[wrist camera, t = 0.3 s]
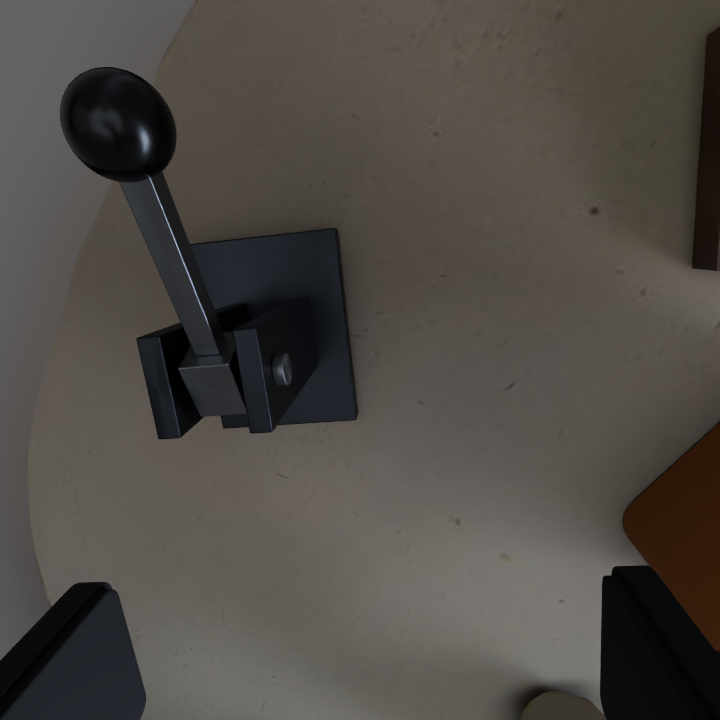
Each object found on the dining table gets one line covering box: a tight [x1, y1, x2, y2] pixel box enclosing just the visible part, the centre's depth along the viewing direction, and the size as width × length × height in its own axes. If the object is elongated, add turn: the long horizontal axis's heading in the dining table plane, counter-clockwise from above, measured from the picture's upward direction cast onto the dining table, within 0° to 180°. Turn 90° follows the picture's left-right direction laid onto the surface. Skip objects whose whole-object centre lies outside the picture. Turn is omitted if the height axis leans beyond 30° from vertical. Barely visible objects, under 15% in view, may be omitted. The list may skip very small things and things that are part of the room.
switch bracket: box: [137, 228, 358, 439], centre depth 24 cm, size 12×9×12 cm
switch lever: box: [60, 67, 247, 417], centre depth 17 cm, size 13×3×3 cm, turn 6°
